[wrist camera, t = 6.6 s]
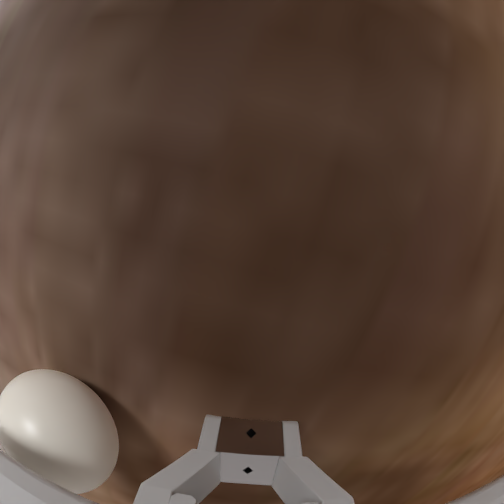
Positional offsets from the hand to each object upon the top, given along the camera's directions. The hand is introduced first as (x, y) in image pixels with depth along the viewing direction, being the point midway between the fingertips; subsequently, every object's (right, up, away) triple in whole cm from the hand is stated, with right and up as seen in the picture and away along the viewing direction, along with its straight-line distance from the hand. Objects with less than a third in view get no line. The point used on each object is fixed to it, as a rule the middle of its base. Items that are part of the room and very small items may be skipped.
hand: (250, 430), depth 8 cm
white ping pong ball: (-8, -1, -1) cm, 8 cm away
